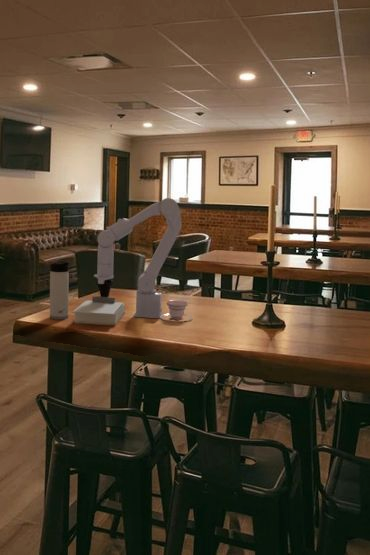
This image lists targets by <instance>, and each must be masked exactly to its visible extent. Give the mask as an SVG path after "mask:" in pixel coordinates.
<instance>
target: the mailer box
mask: <svg viewBox="0 0 370 555" xmlns="http://www.w3.org/2000/svg"><path fill="white" fill-rule="evenodd" d="M122 303H123V305H122V306H121V307H120V308H119V309H118V311H117V312H116V313H115V314H114V315H100V314H84V313H74V324H84V325H99V326H116V325H117V324H118V323H119V321H120V320H122V318H123V317H124V315H125V314H126V312H125V308H126V306H125V305H126V303H125V302H122Z"/></svg>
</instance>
